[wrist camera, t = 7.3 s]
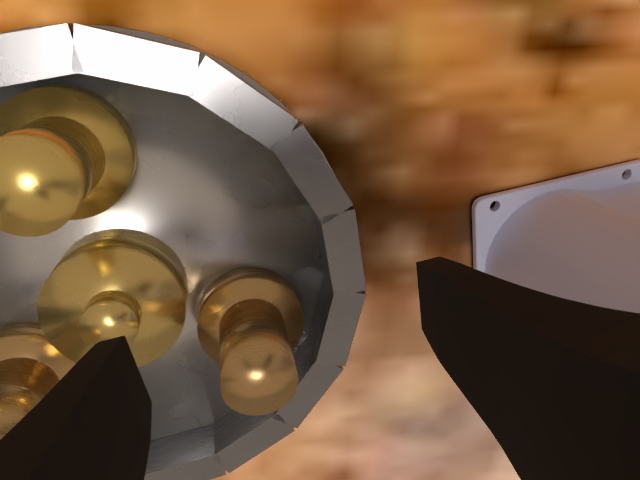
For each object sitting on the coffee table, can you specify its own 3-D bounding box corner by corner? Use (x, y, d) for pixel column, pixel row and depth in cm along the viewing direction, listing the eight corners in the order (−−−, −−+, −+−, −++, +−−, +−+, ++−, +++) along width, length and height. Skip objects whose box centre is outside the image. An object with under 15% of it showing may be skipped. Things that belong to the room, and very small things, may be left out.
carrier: (311, -19, 18) (353, -43, 12) (372, 391, 26) (413, 480, 21) (-293, 82, 15) (-556, 106, 10) (-12, 500, 24) (-76, 632, 18)
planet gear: (124, 81, 17) (92, 97, 12) (147, 203, 19) (126, 255, 14) (-18, 87, 16) (-107, 107, 12) (20, 214, 18) (-44, 274, 13)
